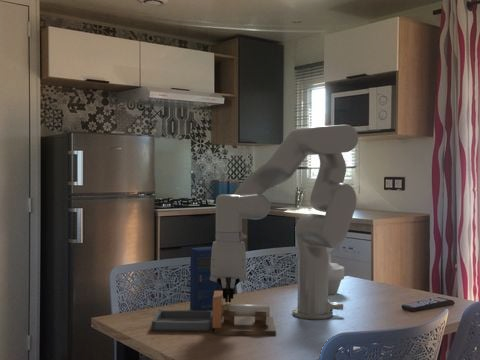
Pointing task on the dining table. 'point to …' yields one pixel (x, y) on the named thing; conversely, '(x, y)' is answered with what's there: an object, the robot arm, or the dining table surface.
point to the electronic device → (201, 280)
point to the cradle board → (246, 324)
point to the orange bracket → (217, 308)
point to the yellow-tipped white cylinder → (245, 309)
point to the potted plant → (334, 274)
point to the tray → (183, 321)
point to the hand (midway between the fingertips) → (228, 301)
